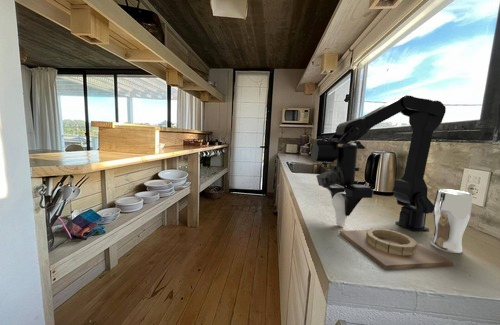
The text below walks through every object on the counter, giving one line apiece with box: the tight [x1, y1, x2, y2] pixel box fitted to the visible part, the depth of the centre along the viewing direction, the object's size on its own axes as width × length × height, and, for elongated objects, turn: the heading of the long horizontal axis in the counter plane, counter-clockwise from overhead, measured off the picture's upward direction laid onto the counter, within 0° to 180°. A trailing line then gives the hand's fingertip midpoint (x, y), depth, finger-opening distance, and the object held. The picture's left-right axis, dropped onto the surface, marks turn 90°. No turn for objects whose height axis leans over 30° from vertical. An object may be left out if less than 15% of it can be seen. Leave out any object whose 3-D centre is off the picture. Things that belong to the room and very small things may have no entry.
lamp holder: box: [339, 227, 454, 271], centre depth 54 cm, size 17×17×3 cm
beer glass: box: [430, 188, 473, 254], centre depth 55 cm, size 7×7×15 cm
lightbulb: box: [331, 191, 348, 227], centre depth 67 cm, size 6×6×11 cm
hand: (341, 212), depth 67 cm, fingers closed on lightbulb, 6 cm apart
